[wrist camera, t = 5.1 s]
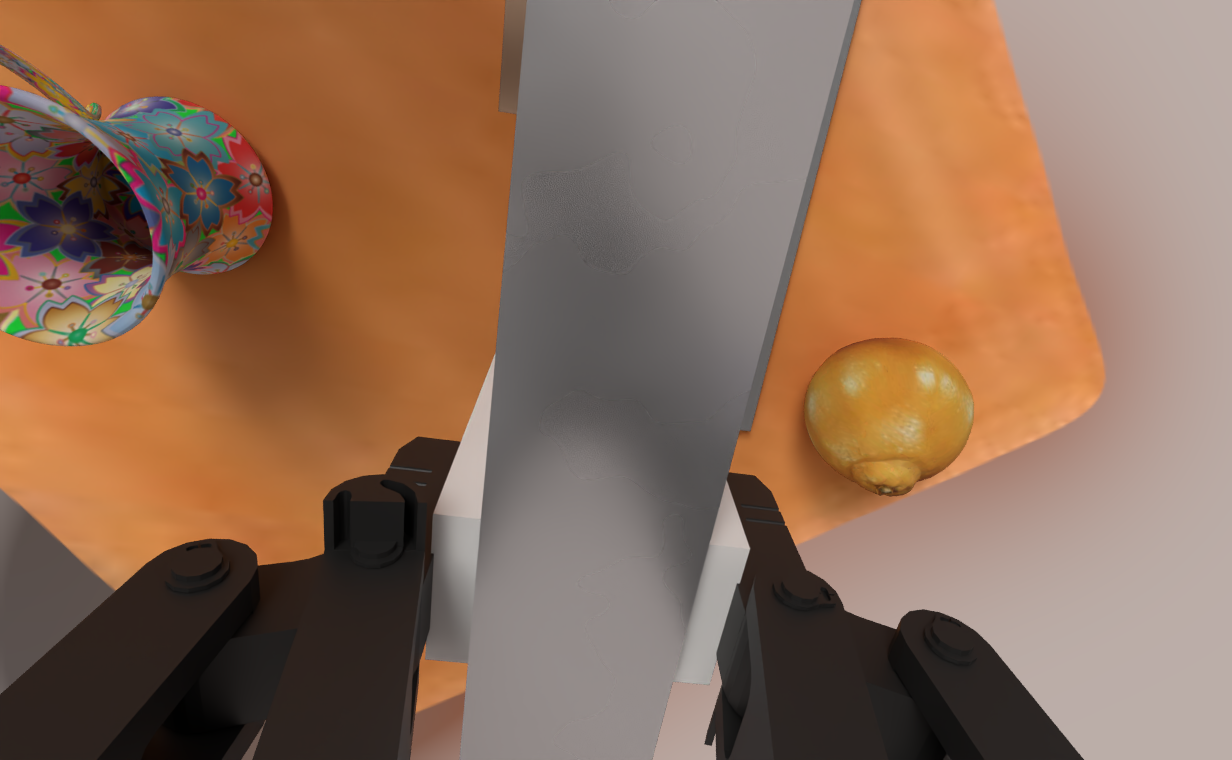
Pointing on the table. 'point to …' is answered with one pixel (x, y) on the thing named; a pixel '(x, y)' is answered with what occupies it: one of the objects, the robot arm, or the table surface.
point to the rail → (629, 347)
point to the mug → (114, 207)
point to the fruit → (888, 413)
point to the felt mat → (797, 229)
